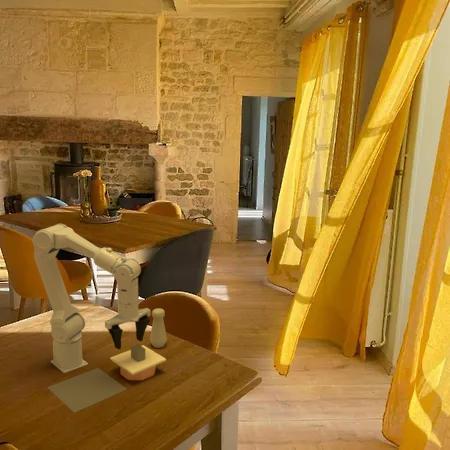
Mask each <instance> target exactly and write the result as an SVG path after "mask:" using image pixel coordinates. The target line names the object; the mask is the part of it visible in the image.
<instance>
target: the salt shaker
mask: <svg viewBox="0 0 450 450" xmlns="http://www.w3.org/2000/svg"><path fill="white" fill-rule="evenodd" d="M151 316H152V318H153V320H152V325H151V329H150V330H151V331H150V336H149V341H150V343H151V346H152V347H153V348H155V349H161V348H164V347H165V345H166V343H167V341H168V337H167V333H166V326H165V321H164V317H165V316H166V314H165V310H164V309H163V308H154V309H153V310H152V311H151Z"/></svg>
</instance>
